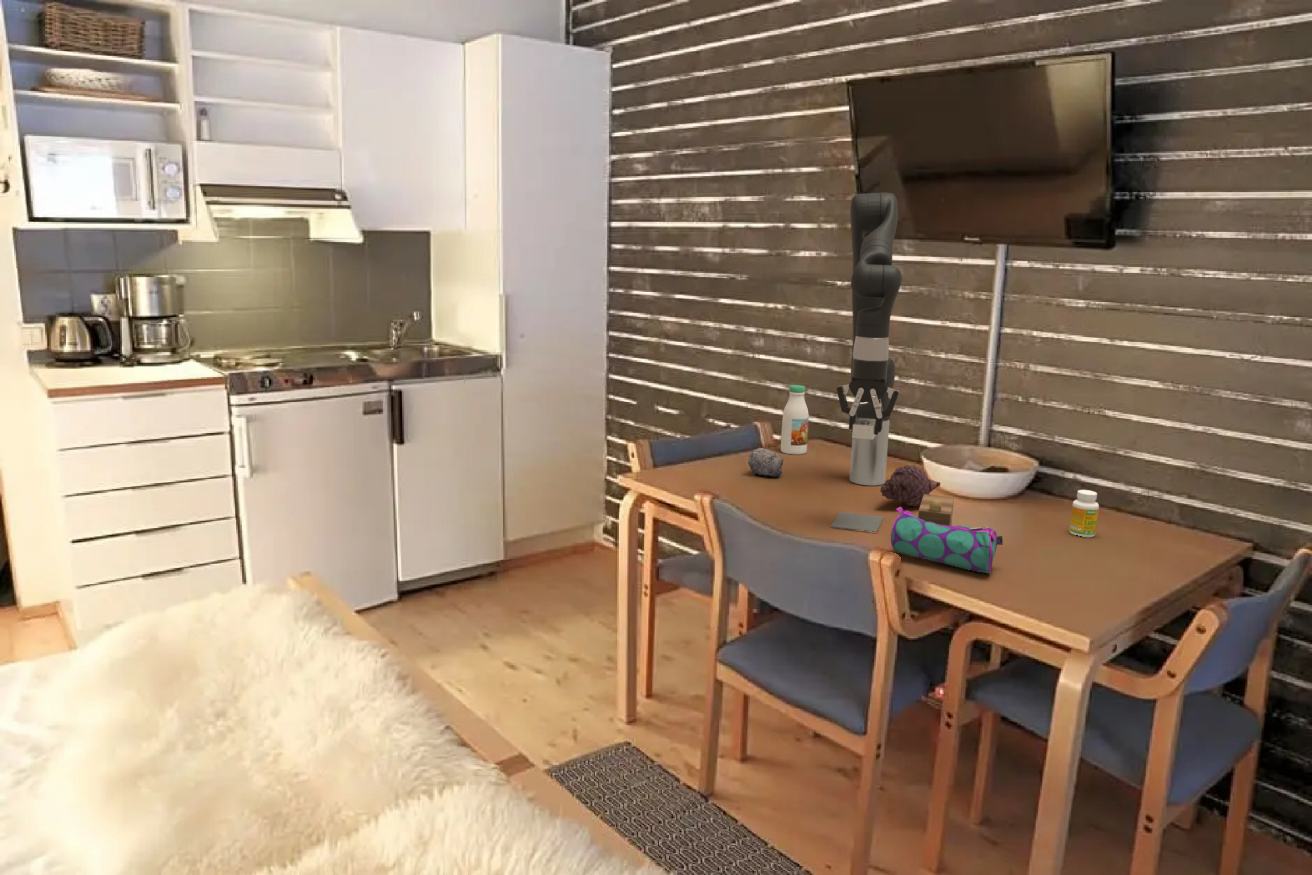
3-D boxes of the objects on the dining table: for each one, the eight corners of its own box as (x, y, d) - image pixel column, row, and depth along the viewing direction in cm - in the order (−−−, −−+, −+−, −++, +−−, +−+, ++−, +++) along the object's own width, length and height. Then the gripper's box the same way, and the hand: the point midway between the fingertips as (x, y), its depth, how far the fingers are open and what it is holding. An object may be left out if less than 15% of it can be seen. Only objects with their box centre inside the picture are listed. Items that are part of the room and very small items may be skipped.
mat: (839, 513, 224) (840, 511, 224) (883, 518, 221) (883, 516, 221) (831, 527, 213) (831, 525, 213) (876, 533, 210) (876, 531, 210)
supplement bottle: (1084, 539, 210) (1089, 496, 208) (1063, 531, 215) (1068, 490, 212) (1100, 535, 212) (1106, 494, 210) (1080, 528, 217) (1085, 487, 215)
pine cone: (892, 515, 223) (895, 474, 221) (864, 504, 232) (867, 465, 230) (948, 507, 232) (951, 467, 229) (919, 496, 240) (922, 458, 238)
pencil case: (1000, 567, 191) (1005, 521, 189) (988, 580, 184) (993, 532, 182) (899, 546, 202) (903, 503, 200) (885, 558, 195) (888, 513, 193)
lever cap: (857, 430, 217) (858, 415, 216) (877, 432, 216) (878, 417, 215) (852, 437, 210) (853, 422, 209) (872, 439, 208) (874, 424, 207)
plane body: (920, 525, 217) (924, 485, 214) (951, 529, 214) (955, 488, 212) (914, 544, 203) (918, 501, 201) (948, 548, 201) (952, 505, 199)
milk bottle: (780, 454, 281) (783, 387, 277) (781, 448, 289) (784, 383, 284) (806, 455, 280) (810, 388, 276) (806, 449, 287) (810, 384, 283)
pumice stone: (789, 484, 257) (768, 466, 265) (796, 459, 254) (774, 442, 261) (758, 488, 252) (738, 469, 259) (765, 462, 248) (744, 444, 256)
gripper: (905, 357, 210) (899, 432, 214) (840, 352, 215) (835, 426, 218) (902, 361, 203) (895, 439, 207) (835, 356, 208) (830, 433, 211)
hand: (864, 432), depth 213 cm, fingers closed on lever cap, 4 cm apart
